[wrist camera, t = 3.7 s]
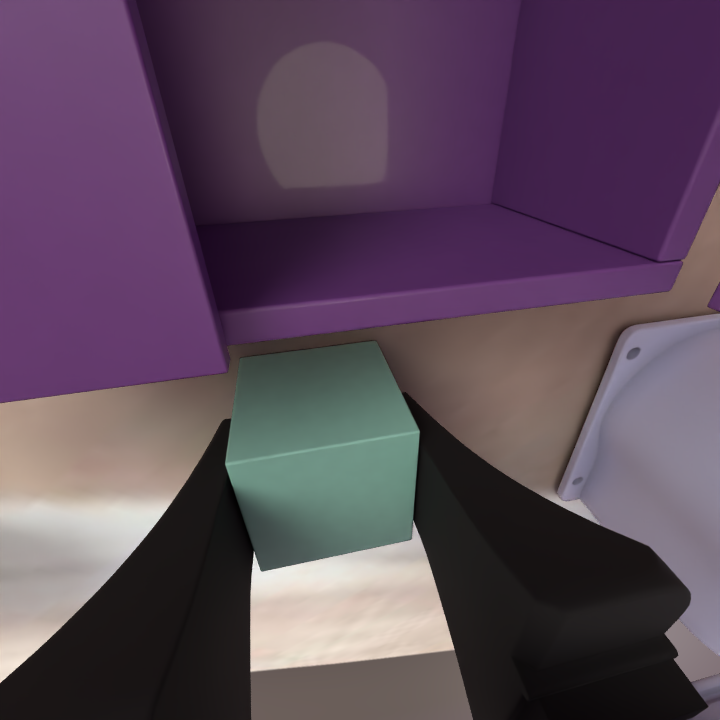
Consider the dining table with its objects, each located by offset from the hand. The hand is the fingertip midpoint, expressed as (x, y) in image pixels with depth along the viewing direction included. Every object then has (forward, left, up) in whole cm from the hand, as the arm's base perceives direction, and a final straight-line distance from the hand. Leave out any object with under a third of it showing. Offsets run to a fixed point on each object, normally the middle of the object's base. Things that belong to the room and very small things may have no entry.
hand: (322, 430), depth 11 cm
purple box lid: (+11, -5, +8) cm, 15 cm away
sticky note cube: (0, 0, -1) cm, 1 cm away
